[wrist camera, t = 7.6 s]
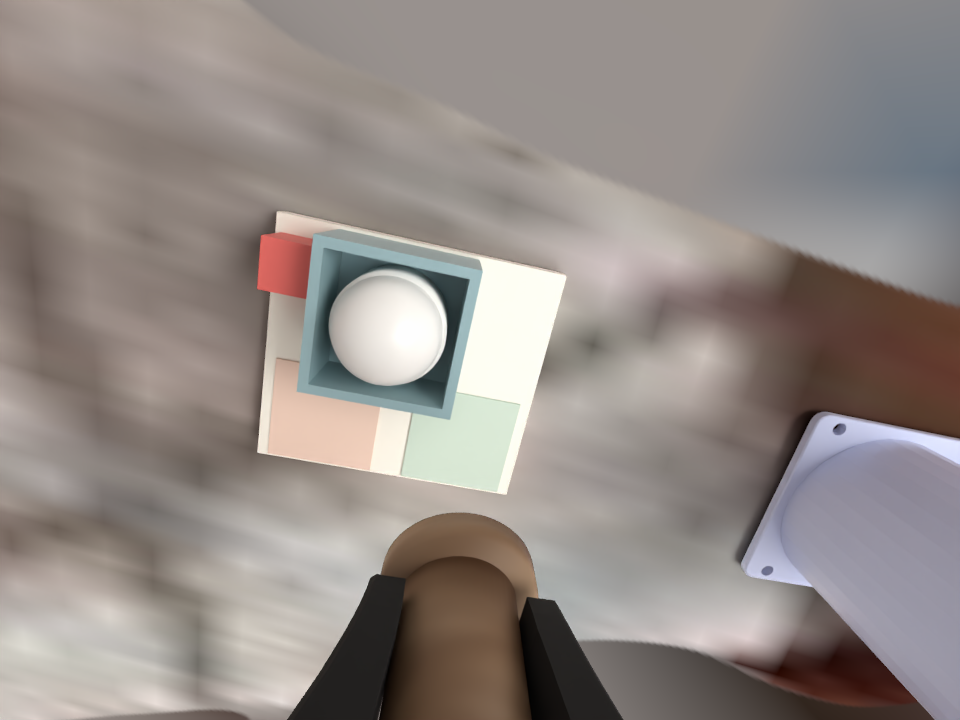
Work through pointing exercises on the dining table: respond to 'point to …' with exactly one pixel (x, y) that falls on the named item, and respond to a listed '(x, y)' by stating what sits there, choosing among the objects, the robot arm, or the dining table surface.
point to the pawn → (459, 621)
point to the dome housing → (347, 259)
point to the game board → (397, 434)
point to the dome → (389, 325)
